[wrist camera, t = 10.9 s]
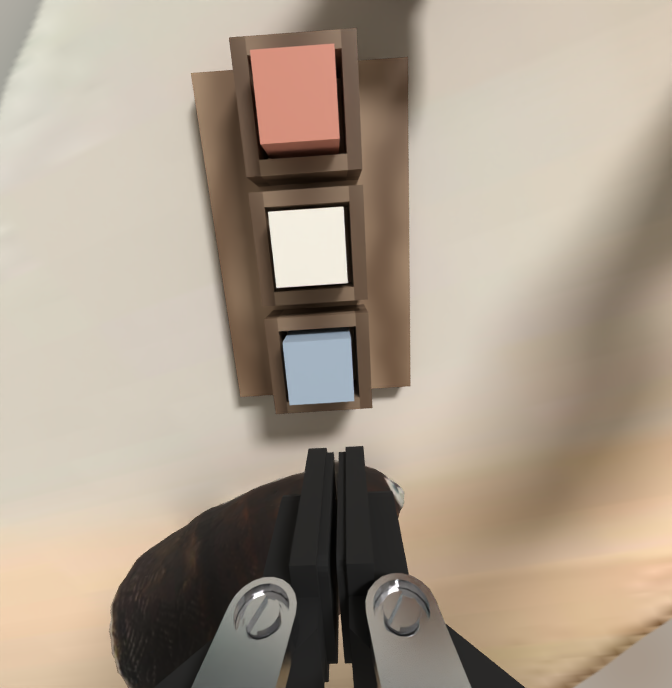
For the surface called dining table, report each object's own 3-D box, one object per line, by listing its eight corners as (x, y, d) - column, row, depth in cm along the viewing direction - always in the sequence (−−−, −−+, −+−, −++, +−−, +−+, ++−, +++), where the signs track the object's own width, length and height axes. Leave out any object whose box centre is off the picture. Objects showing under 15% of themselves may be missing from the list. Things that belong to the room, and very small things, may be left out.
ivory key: (342, 212, 27) (343, 206, 23) (345, 278, 28) (347, 283, 24) (277, 216, 27) (267, 211, 23) (284, 282, 28) (276, 287, 24)
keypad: (402, 70, 27) (420, 23, 22) (406, 378, 34) (420, 404, 29) (200, 85, 27) (165, 42, 22) (245, 388, 34) (227, 417, 29)
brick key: (334, 75, 24) (334, 43, 20) (338, 154, 26) (339, 138, 22) (263, 81, 24) (249, 49, 20) (271, 159, 26) (260, 144, 22)
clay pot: (473, 604, 27) (193, 796, 25) (410, 502, 42) (232, 619, 41) (377, 448, 25) (71, 644, 24) (348, 400, 40) (160, 518, 39)
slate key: (348, 326, 29) (350, 338, 25) (351, 381, 30) (354, 401, 27) (289, 330, 29) (282, 342, 25) (295, 385, 30) (289, 405, 27)
